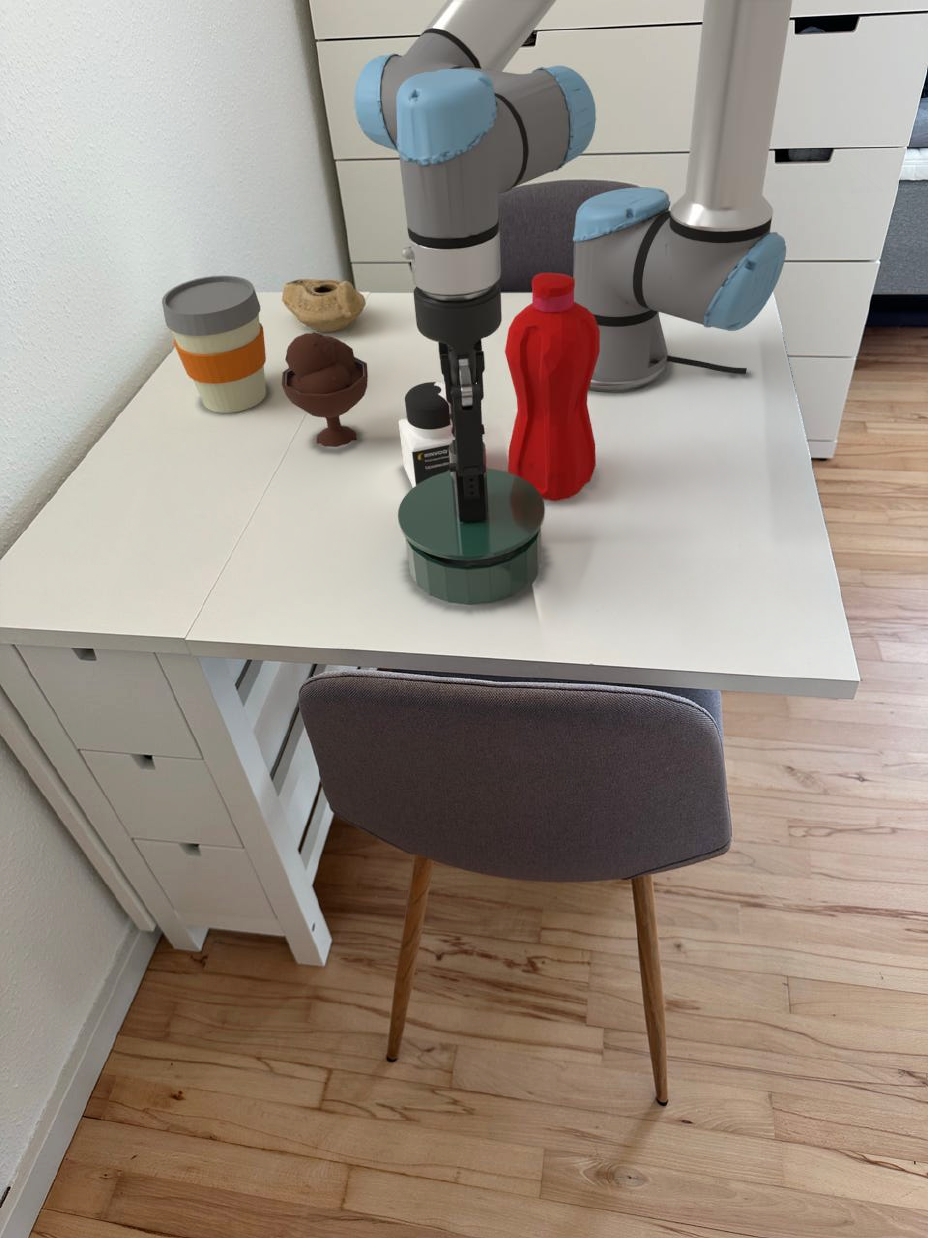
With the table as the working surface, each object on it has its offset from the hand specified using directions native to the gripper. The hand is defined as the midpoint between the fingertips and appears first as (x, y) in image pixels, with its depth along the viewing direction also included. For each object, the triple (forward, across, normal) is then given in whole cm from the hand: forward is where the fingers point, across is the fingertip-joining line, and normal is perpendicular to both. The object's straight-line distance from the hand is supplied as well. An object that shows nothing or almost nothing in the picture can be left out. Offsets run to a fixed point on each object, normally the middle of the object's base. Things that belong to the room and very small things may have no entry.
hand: (471, 505), depth 93 cm
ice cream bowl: (+8, -28, -16) cm, 33 cm away
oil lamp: (+8, -63, -19) cm, 66 cm away
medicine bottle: (+8, -17, -3) cm, 19 cm away
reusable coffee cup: (+8, -42, -31) cm, 53 cm away
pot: (+8, 0, 0) cm, 8 cm away
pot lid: (+1, 0, 0) cm, 1 cm away
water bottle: (+8, -15, +11) cm, 20 cm away
